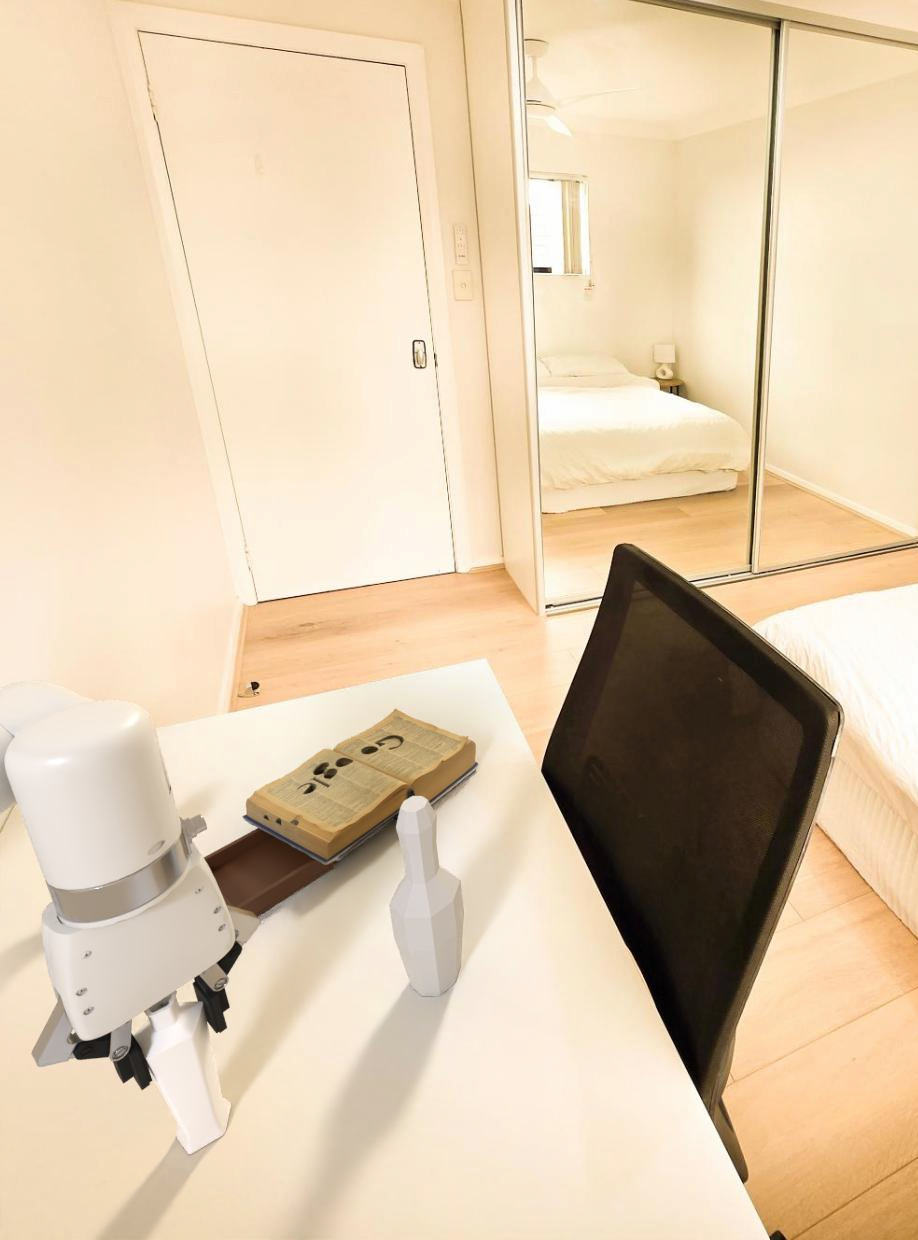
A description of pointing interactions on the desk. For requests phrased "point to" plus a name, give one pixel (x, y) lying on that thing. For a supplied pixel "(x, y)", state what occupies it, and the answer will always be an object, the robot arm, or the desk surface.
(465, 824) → the desk surface
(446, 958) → the low poly bottle
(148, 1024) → the white faceted vase
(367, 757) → the book
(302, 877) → the tray
